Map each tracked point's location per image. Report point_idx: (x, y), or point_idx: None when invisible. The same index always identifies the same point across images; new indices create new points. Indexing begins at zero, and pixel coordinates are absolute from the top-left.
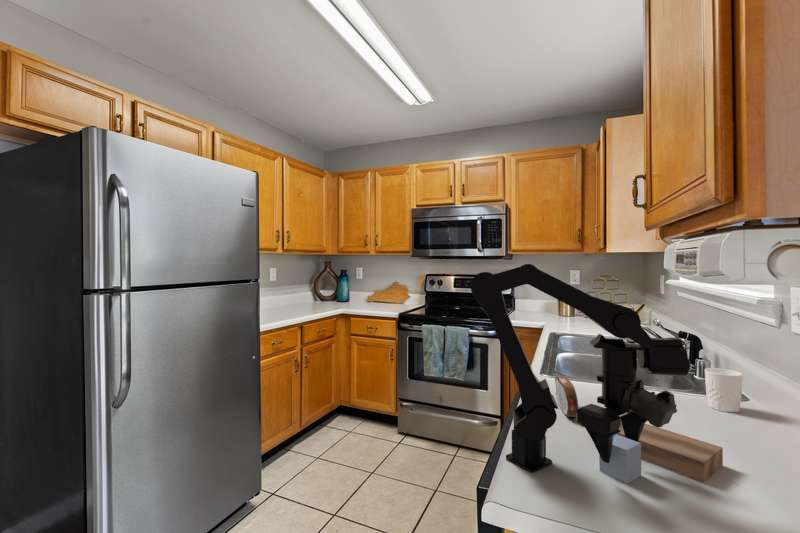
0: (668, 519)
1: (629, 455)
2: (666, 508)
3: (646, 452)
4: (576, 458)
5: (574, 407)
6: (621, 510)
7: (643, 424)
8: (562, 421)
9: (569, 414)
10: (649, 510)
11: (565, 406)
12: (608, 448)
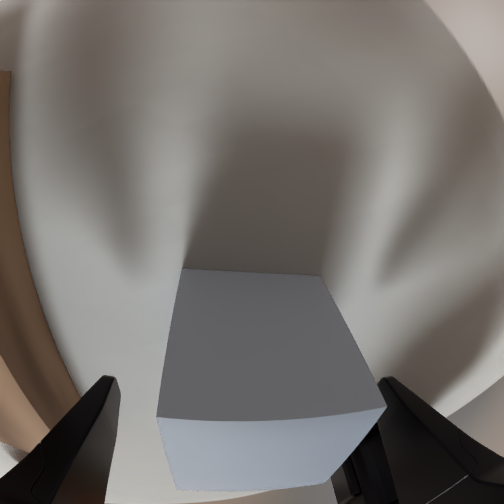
0: (460, 88)
1: (342, 375)
2: (403, 98)
3: (21, 322)
4: None
5: None
6: (490, 218)
7: (10, 488)
8: None
9: None
10: (453, 150)
11: None
12: (457, 427)
